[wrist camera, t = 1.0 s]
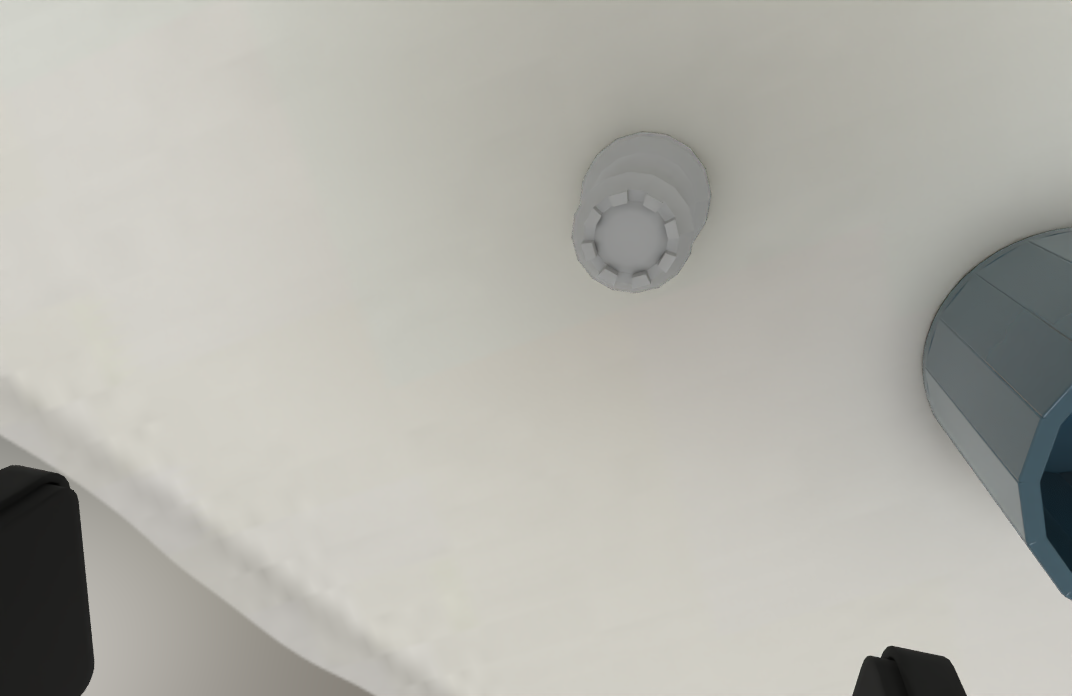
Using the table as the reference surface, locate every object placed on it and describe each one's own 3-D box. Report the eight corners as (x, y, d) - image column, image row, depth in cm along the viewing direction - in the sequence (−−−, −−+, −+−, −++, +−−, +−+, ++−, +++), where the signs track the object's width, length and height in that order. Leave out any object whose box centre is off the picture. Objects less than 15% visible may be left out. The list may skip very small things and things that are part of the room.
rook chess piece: (709, 125, 27) (717, 144, 19) (712, 255, 28) (720, 321, 21) (577, 136, 27) (536, 158, 20) (587, 262, 29) (551, 327, 21)
